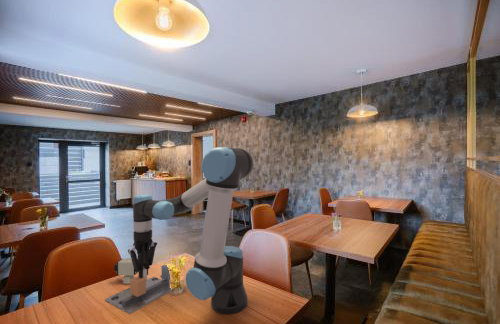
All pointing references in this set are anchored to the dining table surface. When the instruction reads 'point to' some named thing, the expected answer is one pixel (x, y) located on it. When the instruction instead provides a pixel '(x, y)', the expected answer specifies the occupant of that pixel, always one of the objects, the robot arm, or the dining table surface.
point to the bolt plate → (138, 304)
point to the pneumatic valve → (125, 270)
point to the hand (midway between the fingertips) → (143, 283)
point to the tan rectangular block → (137, 286)
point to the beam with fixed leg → (164, 282)
